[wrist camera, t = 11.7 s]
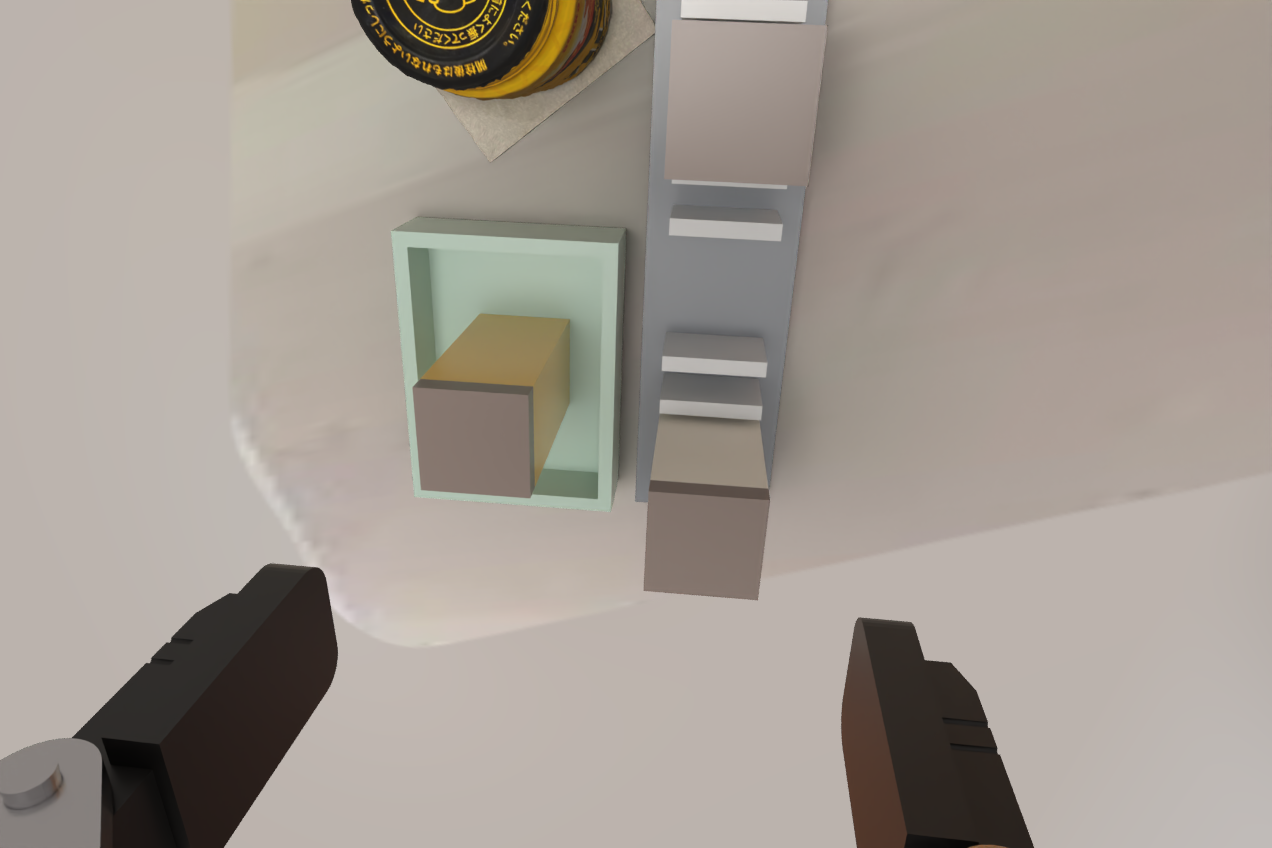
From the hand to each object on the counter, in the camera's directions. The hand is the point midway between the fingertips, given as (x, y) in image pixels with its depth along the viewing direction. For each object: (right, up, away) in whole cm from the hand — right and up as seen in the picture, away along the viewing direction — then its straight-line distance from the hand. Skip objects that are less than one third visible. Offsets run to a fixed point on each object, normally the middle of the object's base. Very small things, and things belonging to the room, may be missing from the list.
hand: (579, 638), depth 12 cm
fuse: (-4, +6, +24) cm, 25 cm away
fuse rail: (+4, +10, +22) cm, 25 cm away
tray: (-4, +6, +25) cm, 26 cm away
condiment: (-4, +19, +19) cm, 27 cm away
